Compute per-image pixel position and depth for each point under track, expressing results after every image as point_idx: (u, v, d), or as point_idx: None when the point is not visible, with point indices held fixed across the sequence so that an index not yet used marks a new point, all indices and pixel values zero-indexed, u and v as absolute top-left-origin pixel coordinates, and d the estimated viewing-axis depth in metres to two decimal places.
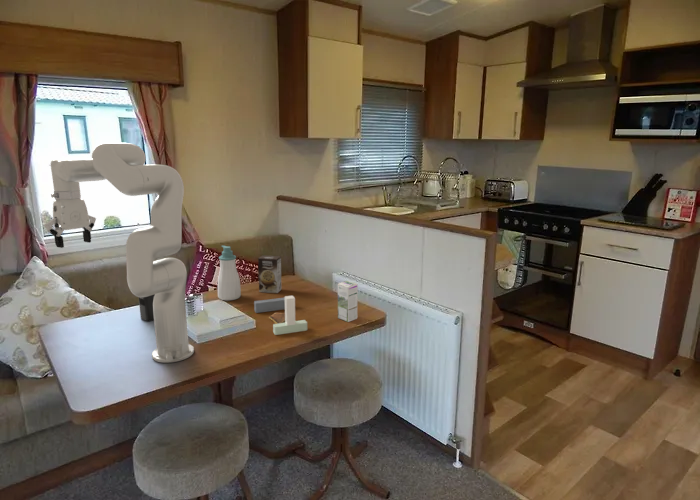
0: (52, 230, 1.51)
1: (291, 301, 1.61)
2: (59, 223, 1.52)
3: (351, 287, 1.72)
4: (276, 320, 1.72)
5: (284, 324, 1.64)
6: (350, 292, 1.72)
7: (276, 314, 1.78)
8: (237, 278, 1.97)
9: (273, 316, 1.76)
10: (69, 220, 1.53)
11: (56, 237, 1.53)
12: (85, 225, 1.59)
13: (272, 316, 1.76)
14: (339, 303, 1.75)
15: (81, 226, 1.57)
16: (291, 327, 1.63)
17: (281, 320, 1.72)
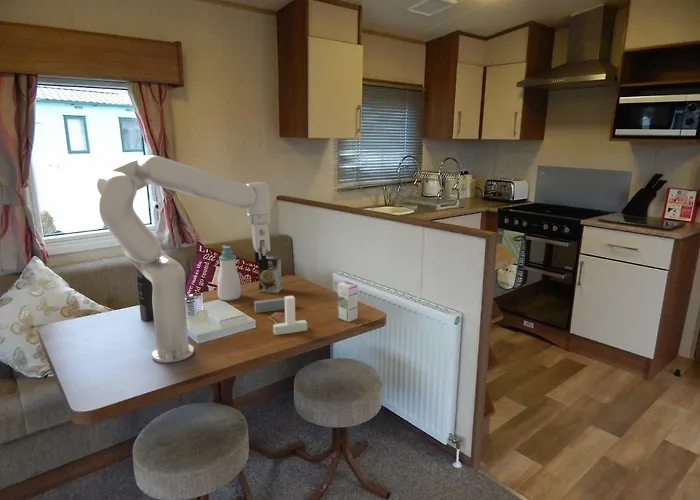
0: (266, 253, 1.52)
1: (291, 301, 1.61)
2: (267, 245, 1.54)
3: (351, 287, 1.72)
4: (276, 320, 1.72)
5: (284, 324, 1.64)
6: (350, 292, 1.72)
7: (276, 314, 1.78)
8: (237, 278, 1.97)
9: (273, 316, 1.76)
10: None
11: (264, 260, 1.54)
12: None
13: (272, 316, 1.76)
14: (339, 303, 1.75)
15: None
16: (291, 327, 1.63)
17: (281, 320, 1.72)
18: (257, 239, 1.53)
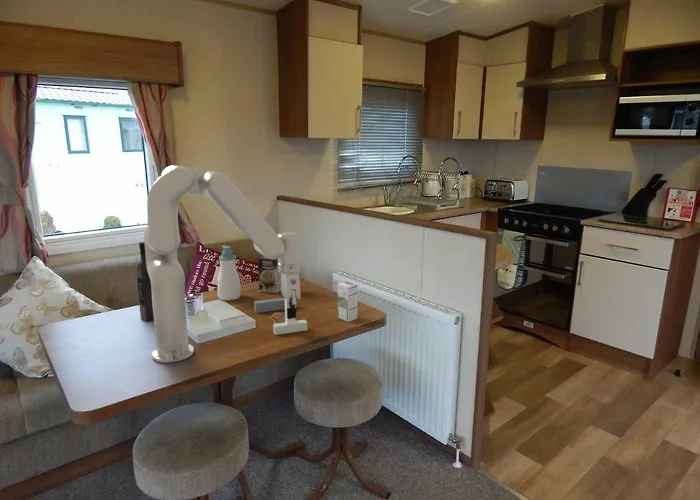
0: None
1: None
2: (298, 294, 1.58)
3: (351, 287, 1.72)
4: (276, 320, 1.72)
5: (284, 324, 1.64)
6: (350, 292, 1.72)
7: (276, 314, 1.78)
8: (237, 278, 1.97)
9: (273, 316, 1.76)
10: None
11: (293, 309, 1.61)
12: None
13: (272, 316, 1.76)
14: (339, 303, 1.75)
15: None
16: (291, 327, 1.63)
17: (281, 320, 1.72)
18: (289, 288, 1.56)
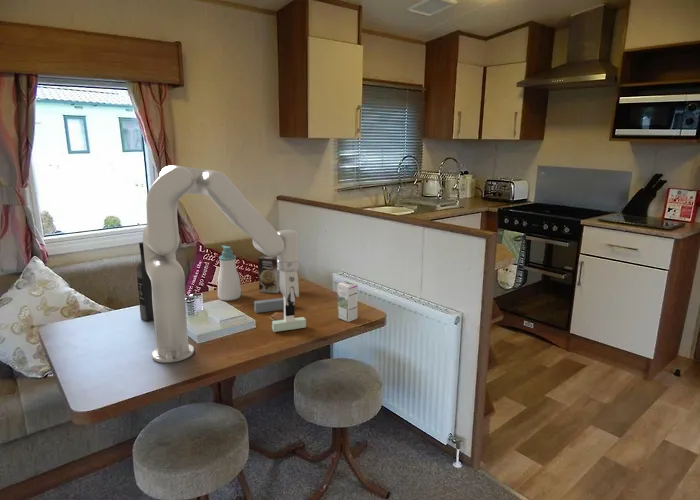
0: None
1: None
2: (296, 291, 1.59)
3: (351, 287, 1.72)
4: (276, 320, 1.72)
5: (283, 321, 1.65)
6: (350, 292, 1.72)
7: (276, 314, 1.78)
8: (237, 278, 1.97)
9: (273, 316, 1.76)
10: None
11: (291, 306, 1.62)
12: None
13: (272, 316, 1.76)
14: (339, 303, 1.75)
15: None
16: (290, 324, 1.65)
17: None
18: (287, 286, 1.57)
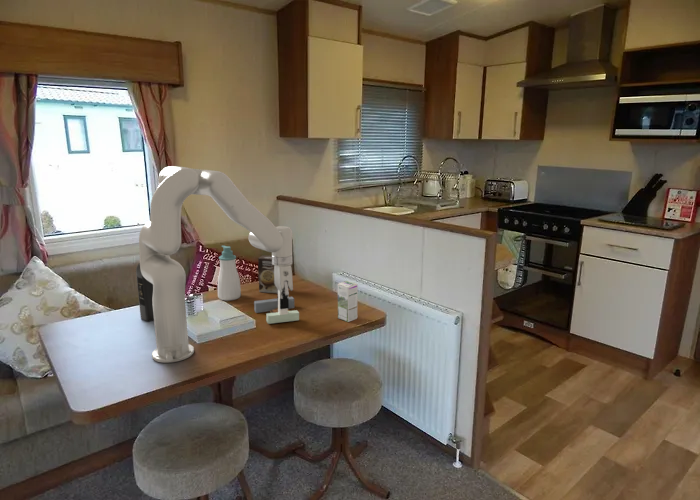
0: None
1: None
2: (290, 285, 1.66)
3: (351, 287, 1.72)
4: None
5: (277, 313, 1.72)
6: (350, 292, 1.72)
7: (277, 309, 1.83)
8: (237, 278, 1.97)
9: (273, 310, 1.81)
10: None
11: (285, 299, 1.69)
12: None
13: (273, 310, 1.82)
14: (339, 303, 1.75)
15: None
16: (283, 317, 1.71)
17: None
18: (281, 279, 1.64)
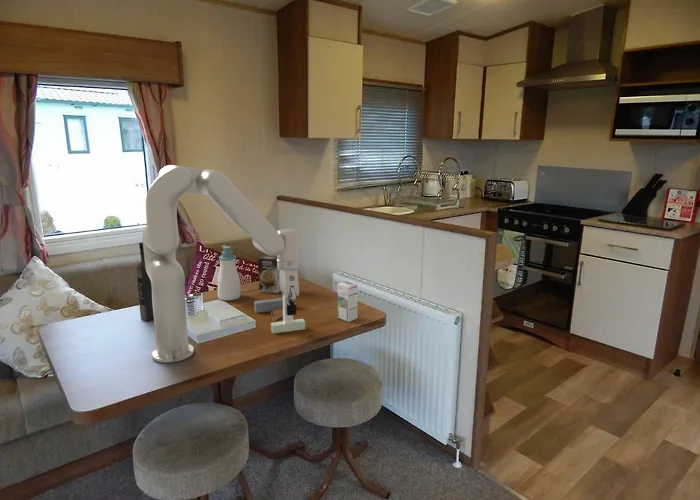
0: None
1: (289, 300, 1.62)
2: (297, 290, 1.59)
3: (351, 287, 1.72)
4: (273, 315, 1.77)
5: (282, 323, 1.65)
6: (350, 292, 1.72)
7: (278, 309, 1.83)
8: (237, 278, 1.97)
9: (274, 311, 1.82)
10: None
11: (292, 306, 1.60)
12: None
13: (273, 311, 1.82)
14: (339, 303, 1.75)
15: None
16: (289, 326, 1.65)
17: (278, 315, 1.77)
18: (287, 285, 1.57)
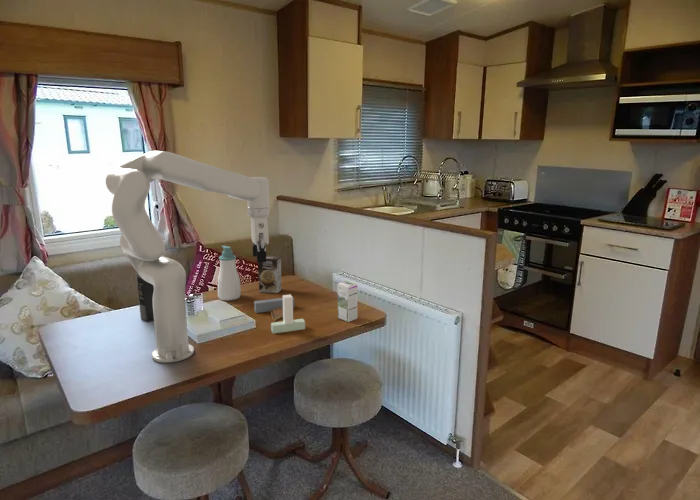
0: None
1: (289, 300, 1.62)
2: (266, 238, 1.59)
3: (351, 287, 1.72)
4: (273, 315, 1.77)
5: (282, 323, 1.65)
6: (350, 292, 1.72)
7: (278, 309, 1.83)
8: (237, 278, 1.97)
9: (274, 311, 1.82)
10: None
11: (262, 252, 1.58)
12: None
13: (273, 311, 1.82)
14: (339, 303, 1.75)
15: None
16: (289, 326, 1.65)
17: (278, 315, 1.77)
18: (256, 232, 1.57)
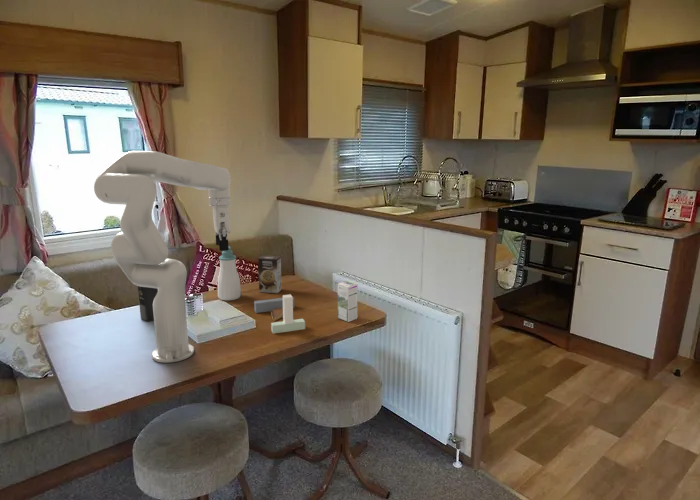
0: (226, 234, 1.62)
1: (289, 300, 1.62)
2: (227, 227, 1.64)
3: (351, 287, 1.72)
4: (273, 315, 1.77)
5: (282, 323, 1.65)
6: (350, 292, 1.72)
7: (278, 309, 1.83)
8: (237, 278, 1.97)
9: (274, 311, 1.82)
10: None
11: (224, 241, 1.64)
12: None
13: (273, 311, 1.82)
14: (339, 303, 1.75)
15: None
16: (289, 326, 1.65)
17: (278, 315, 1.77)
18: (218, 221, 1.62)
